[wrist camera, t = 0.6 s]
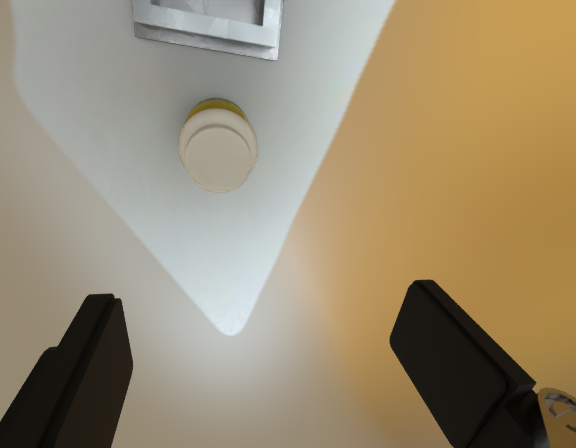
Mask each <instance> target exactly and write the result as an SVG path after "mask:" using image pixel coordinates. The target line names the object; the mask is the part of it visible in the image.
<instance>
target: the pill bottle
mask: <svg viewBox="0 0 576 448" xmlns="http://www.w3.org/2000/svg"><path fill="white" fill-rule="evenodd" d="M178 152H179V156H180V159H181V162H182V164H183V166H184V167H185V169H186V170H187V172H188V174H189V176H190V177H191V179H192V180H193V181H194V182H195V183H196V184H197V185H199V186H200V187H202V188H203V189H206V190H208V191H211V192H221V193H222V192H228V191H232V190H234V189H236V188H238V187H239V186H241V185H242V184H243V183H244V182H245V181H246V179H247V178H248V176H249V174H250V173H251V171H252V170H253V168H254V166H255V164H256V161H257V156H258V144H257V139H256V136H255V134H254V131H253V129H252V127H251V125H250V123H249V121H248V119H247V117H246V115H245V114H244V112H243V111H242V110H241V109H240V108H239V107H238V106H237V105H236V104H234V103H232V102H231V101H228V100H225V99H221V98H212V99H207V100H205V101H202V102H201V103H199V104H198V105H196V106H195V107H194V109H193V110H192V111H191V112H190V114H189V116H188V118H187V120H186V122H185V124H184V126H183V128H182V130H181V132H180V135H179V140H178Z"/></svg>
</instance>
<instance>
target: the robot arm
mask: <svg viewBox="0 0 576 448" xmlns="http://www.w3.org/2000/svg"><path fill="white" fill-rule="evenodd" d="M390 345H391V348H392V350H393V351H394V353H395V354H396V356H397V358H398V359H399V361H400V363H401V364H402V366H403V368H404V369H405V371H406V373H407V374H408V376H409V377H410V379H411V381H412V382H413V384H414V386H415V387H416V389H417V390H418V392H419V394H420V395H421V397H422V399H423V400H424V402H425V404H426V405H427V407H428V408H429V410H430V412H431V413H432V415H433V417H434V418H435V420H436V421H437V423H438V425H439V426H440V428H441V430H442V431H443V433H444V435H445V436H446V438H447V439H448V441H449V443H450V444H451V445H452V446H453V447H454V448H576V398H575V397H573V396H571V395H569V394H567V393H566V392H564V391H560V390H558V389H555V388H543V389H540V390H539V392H538V393H537V394H536V393H535V392H534V391H533V390H532V388H533V387H534V385H535V384H536V382H535V381H534V380H533V379H532V378H531V377H530V376H529V375H528V374H527V373H526V372H525V371H524V370H523V369H522V368H521V367H520V366H519V365H518V364H517V363H516V362H515V361H514V360H513V359H512V358H511V357H510V356H509V355H508V354H507V353H506V352H505V351H504V350H503V349H502V348H501V347H500V346H499V345H498V344H497V343H496V342H495V341H494V340H493V339H492V338H491V337H490V336H489V335H488V334H487V333H486V332H485V331H484V330H483V329H482V328H481V327H480V326H479V325H478V324H477V323H476V322H475V321H474V320H473V319H472V318H471V317H470V316H469V315H468V314H467V313H466V312H465V311H464V310H463V309H462V308H461V307H460V306H459V305H457V303H456V302H455V301H454V300H453V299H452V298H451V297H450V296H449V295H448V294H447V293H446V292H445V291H444V290H443V289H442V288H441V287H440V286H439V285H438V284H437V283H436V282H435V281H433V280H415V281H414V282H413V283H412V285H410V286H409V288H408V291H407V293H406V296H405V298H404V301H403V304H402V306H401V309H400V312H399V314H398V317H397V319H396V322H395V325H394V327H393V330H392V333H391V335H390ZM132 370H133V360H132V355H131V349H130V343H129V338H128V333H127V328H126V322H125V317H124V311H123V306H122V301H121V299H120V298H118V299H117V298H116V299H115V298H114V295H113V294H90V295H88V296H87V297H86V298H85V300H84V302H83V304H82V305H81V307H80V309H79V311H78V312H77V314H76V316H75V317H74V319H73V321H72V322H71V324H70V326H69V328H68V329H67V331H66V333H65V334H64V336H63V338H62V340H61V342H60V343H59V345H58V346H57V347H50V348H48V349H47V350H46V351H44V353H43V354H42V355H41V357H40V358H39V360H38V362H37V363H36V365H35V366H34V368H33V370H32V371H31V373H30V374H29V376H28V378H27V379H26V381H25V383H24V384H23V386H22V387H21V389H20V391H19V392H18V394H17V396H16V397H15V399H14V400H13V402H12V403H11V405H10V407H9V408H8V410H7V412H6V413H5V415H4V416H3V418H2V420H1V421H0V448H111V445H112V442H113V438H114V435H115V431H116V428H117V424H118V421H119V417H120V414H121V410H122V407H123V403H124V400H125V396H126V393H127V389H128V386H129V382H130V379H131V375H132Z"/></svg>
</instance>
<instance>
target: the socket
mask: <svg viewBox="0 0 576 448" xmlns="http://www.w3.org/2000/svg"><path fill="white" fill-rule="evenodd" d="M283 1H284V0H132V9H133V21H134V26H135V37H139V38H145V39H151V40H157V41H163V42H169V43H174V44H180V45H186V46H192V47H198V48H204V49H210V50H216V51H222V52H228V53H233V54H239V55H245V56H251V57H257V58H263V59H269V60H275V61H277V56H278V47H279V38H280V29H281V20H282V11H283Z"/></svg>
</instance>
